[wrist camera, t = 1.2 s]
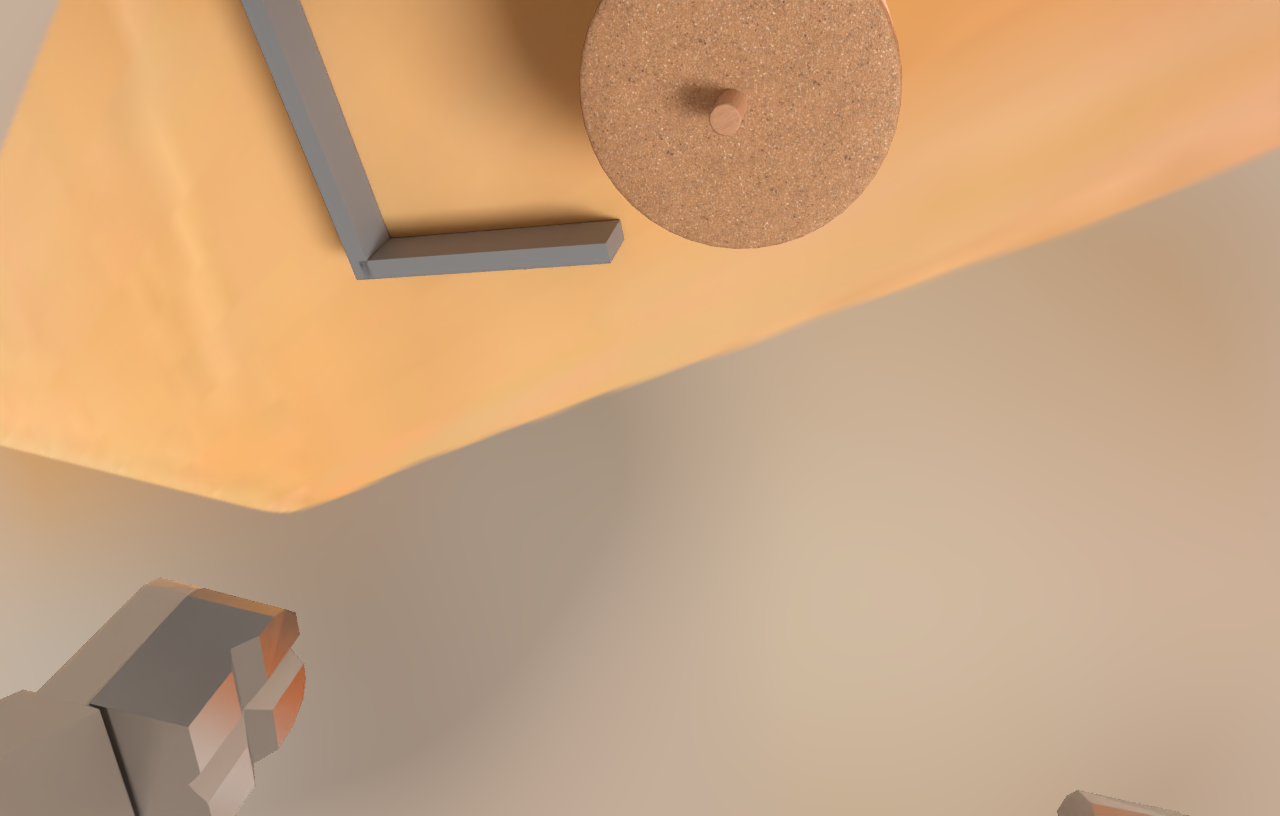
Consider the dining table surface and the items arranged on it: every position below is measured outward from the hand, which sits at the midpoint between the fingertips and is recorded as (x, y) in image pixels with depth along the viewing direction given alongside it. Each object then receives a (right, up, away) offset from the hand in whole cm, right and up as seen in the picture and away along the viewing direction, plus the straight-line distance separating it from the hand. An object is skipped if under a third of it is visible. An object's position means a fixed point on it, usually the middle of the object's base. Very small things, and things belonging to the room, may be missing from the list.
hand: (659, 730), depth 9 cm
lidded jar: (+5, +18, +26) cm, 32 cm away
